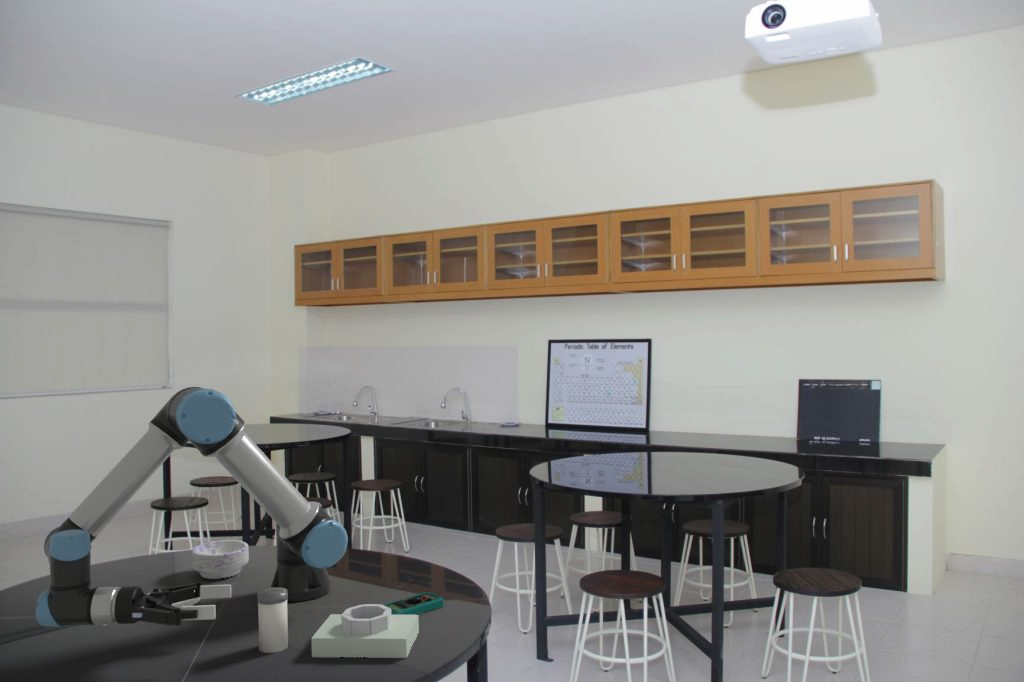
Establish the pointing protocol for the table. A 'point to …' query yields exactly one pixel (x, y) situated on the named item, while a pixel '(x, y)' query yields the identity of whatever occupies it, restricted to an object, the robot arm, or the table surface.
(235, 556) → the paper bowls
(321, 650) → the octagonal ring base plate
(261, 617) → the white grey-capped cylinder
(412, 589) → the table surface
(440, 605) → the digital multimeter
